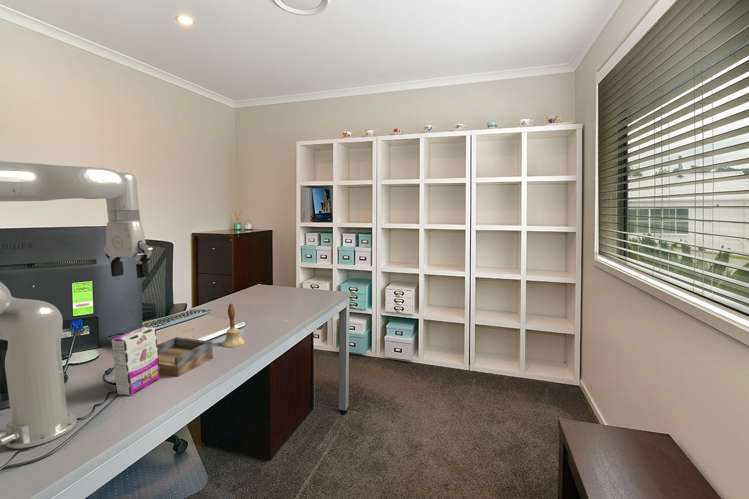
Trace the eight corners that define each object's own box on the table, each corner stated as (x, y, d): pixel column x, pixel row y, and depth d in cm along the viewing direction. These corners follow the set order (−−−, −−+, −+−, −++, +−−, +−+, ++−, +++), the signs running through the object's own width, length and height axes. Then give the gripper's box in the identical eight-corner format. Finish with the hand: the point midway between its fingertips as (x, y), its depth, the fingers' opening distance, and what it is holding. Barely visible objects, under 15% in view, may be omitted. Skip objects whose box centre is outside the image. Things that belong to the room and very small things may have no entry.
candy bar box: (147, 377, 114) (143, 326, 113) (160, 378, 113) (157, 327, 112) (115, 394, 103) (110, 338, 102) (130, 396, 102) (125, 339, 101)
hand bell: (237, 348, 138) (235, 306, 136) (217, 347, 139) (215, 306, 138) (248, 340, 146) (246, 301, 145) (229, 339, 148) (227, 300, 146)
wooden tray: (178, 376, 115) (177, 358, 114) (139, 370, 120) (138, 352, 119) (213, 358, 129) (212, 341, 128) (177, 353, 134) (176, 337, 133)
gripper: (88, 217, 103) (95, 277, 105) (135, 217, 97) (141, 280, 100) (114, 216, 110) (120, 272, 112) (159, 216, 104) (164, 275, 107)
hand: (130, 276), depth 106 cm, fingers open, 9 cm apart
